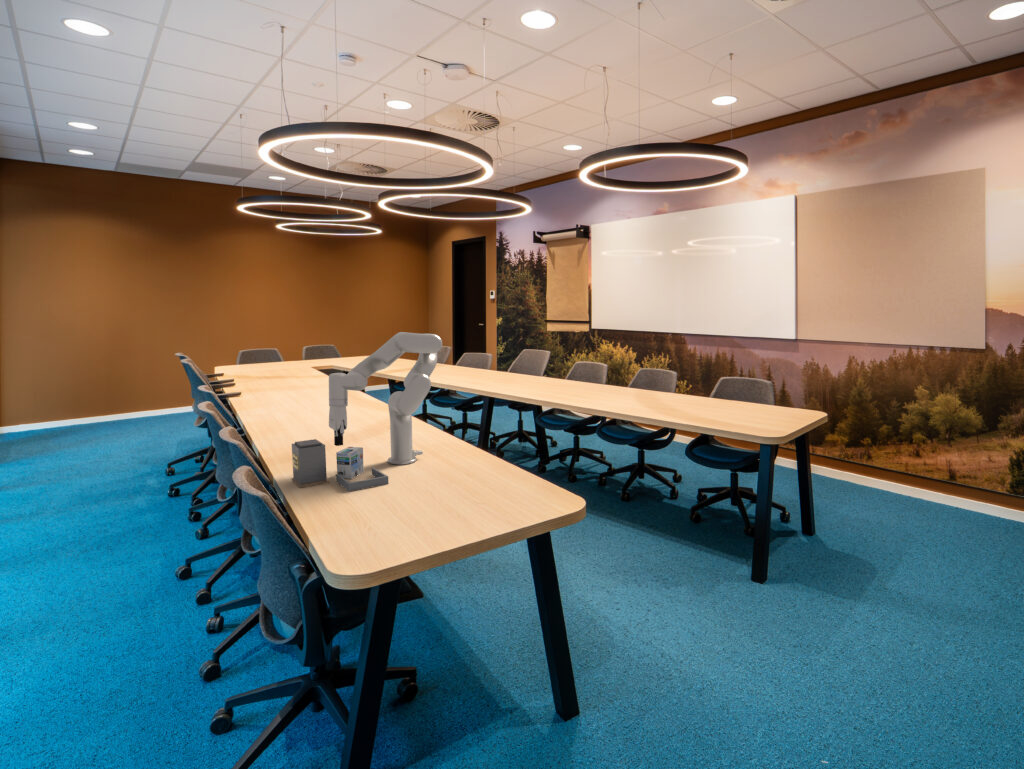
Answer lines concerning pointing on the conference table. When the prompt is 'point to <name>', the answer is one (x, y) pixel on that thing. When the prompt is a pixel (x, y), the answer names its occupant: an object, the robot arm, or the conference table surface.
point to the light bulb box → (350, 462)
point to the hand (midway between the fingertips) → (338, 445)
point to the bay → (364, 481)
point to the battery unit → (309, 463)
